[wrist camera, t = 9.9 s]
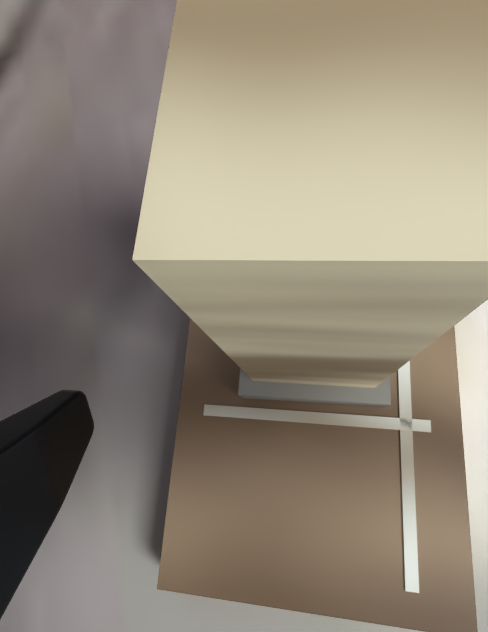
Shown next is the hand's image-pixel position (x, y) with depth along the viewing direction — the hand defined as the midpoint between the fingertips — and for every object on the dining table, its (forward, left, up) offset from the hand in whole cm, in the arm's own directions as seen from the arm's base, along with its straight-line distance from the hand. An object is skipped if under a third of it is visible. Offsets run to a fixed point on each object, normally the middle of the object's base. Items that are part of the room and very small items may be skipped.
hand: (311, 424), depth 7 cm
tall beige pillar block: (+3, -2, -7) cm, 8 cm away
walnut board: (+5, -4, -9) cm, 11 cm away
